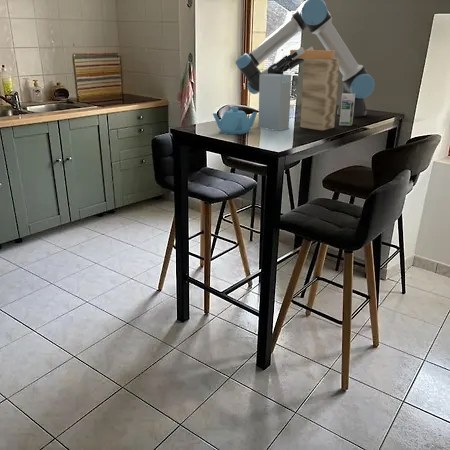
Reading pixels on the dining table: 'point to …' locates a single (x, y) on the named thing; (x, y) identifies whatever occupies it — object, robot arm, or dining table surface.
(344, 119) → the syrup box
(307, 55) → the rod
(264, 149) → the dining table surface
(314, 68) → the wooden block
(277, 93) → the block
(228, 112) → the teapot
